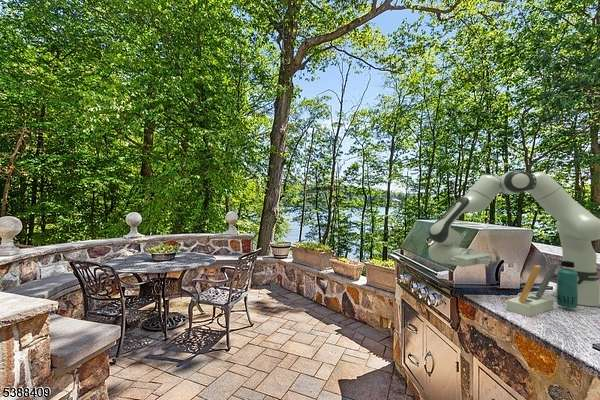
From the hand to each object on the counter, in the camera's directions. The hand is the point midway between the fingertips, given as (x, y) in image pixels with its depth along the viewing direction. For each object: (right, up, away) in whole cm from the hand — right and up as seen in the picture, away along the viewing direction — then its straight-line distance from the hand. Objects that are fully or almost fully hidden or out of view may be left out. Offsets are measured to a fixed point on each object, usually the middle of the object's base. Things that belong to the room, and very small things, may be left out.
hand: (491, 262), depth 126 cm
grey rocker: (+17, -14, -4) cm, 23 cm away
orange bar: (+5, -14, -11) cm, 18 cm away
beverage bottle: (+27, -18, -7) cm, 34 cm away
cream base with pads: (+11, -18, -7) cm, 22 cm away
